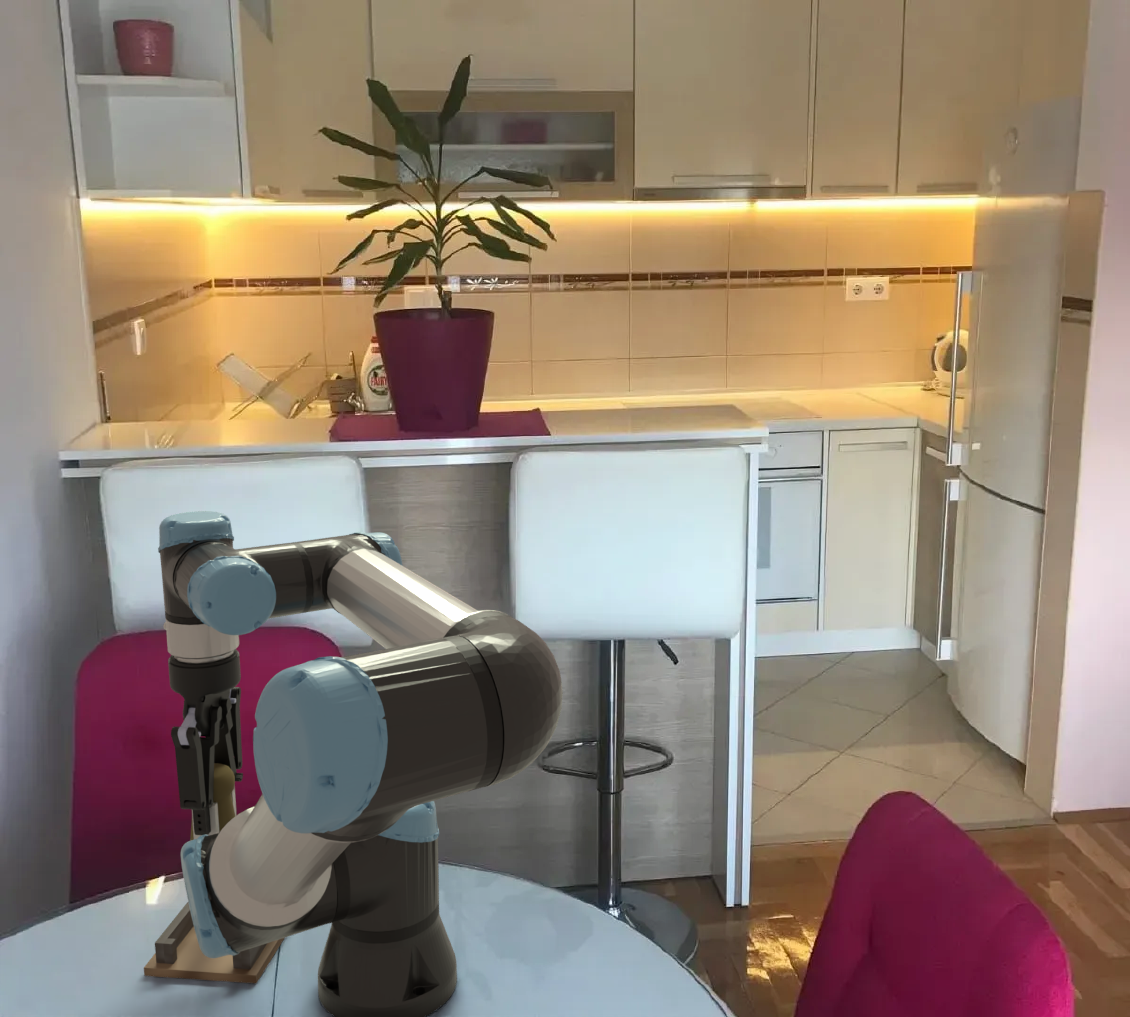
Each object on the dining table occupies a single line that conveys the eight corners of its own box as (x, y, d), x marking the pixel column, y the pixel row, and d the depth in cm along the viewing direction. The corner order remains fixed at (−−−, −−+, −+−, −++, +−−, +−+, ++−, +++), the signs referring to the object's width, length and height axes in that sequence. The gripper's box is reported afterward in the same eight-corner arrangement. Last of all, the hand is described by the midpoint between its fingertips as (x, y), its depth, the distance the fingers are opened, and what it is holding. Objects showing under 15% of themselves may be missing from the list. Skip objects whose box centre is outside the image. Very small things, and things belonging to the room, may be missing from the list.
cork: (227, 873, 125) (221, 782, 123) (178, 867, 127) (171, 776, 124) (253, 847, 131) (247, 759, 129) (205, 841, 132) (199, 754, 130)
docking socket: (296, 918, 137) (295, 892, 136) (256, 983, 124) (254, 955, 123) (194, 911, 138) (192, 885, 137) (144, 975, 125) (141, 947, 125)
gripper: (203, 627, 133) (216, 810, 137) (133, 677, 116) (150, 884, 121) (265, 629, 132) (275, 813, 136) (203, 680, 115) (217, 888, 120)
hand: (216, 846), depth 128 cm, fingers closed on cork, 4 cm apart
